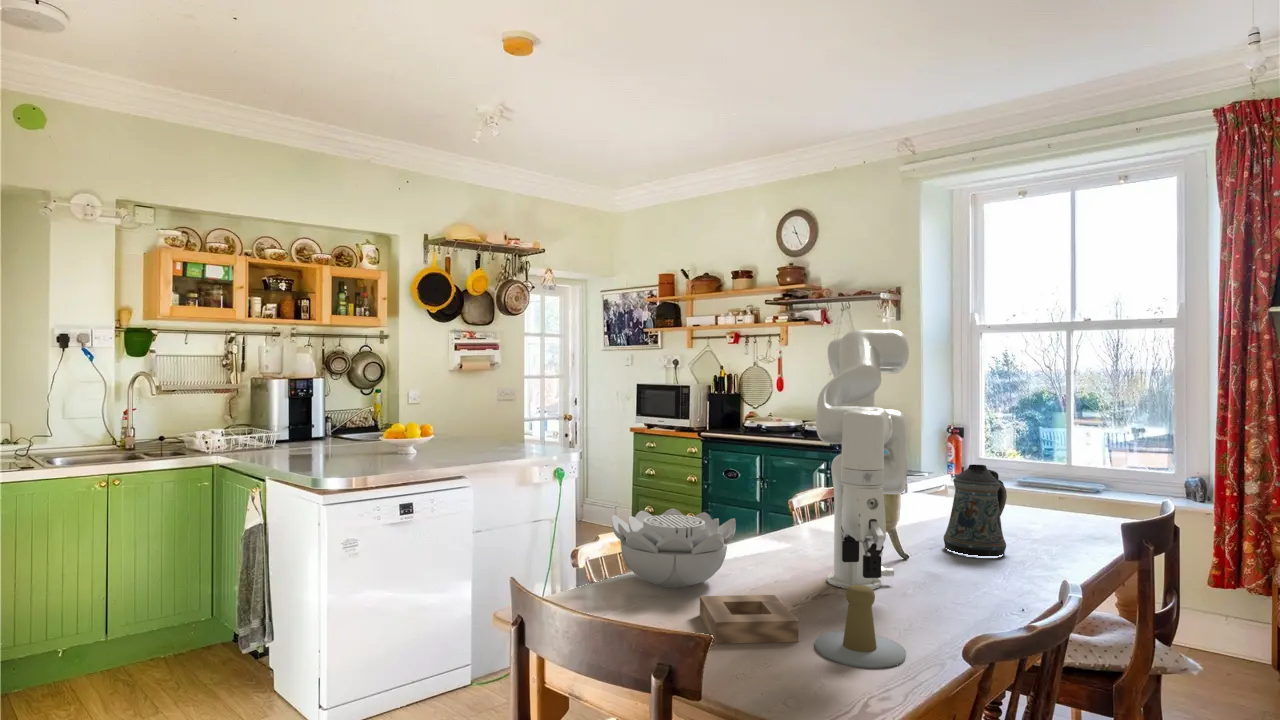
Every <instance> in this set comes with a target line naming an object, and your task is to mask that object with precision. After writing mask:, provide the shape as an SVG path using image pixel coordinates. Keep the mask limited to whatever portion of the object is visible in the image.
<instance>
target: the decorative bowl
mask: <svg viewBox="0 0 1280 720" xmlns="http://www.w3.org/2000/svg"><path fill="white" fill-rule="evenodd" d="M611 517H612V518H611V519H612V520H611V525H612V528H611V529H612V531H613V534H614V535H615V537H616V538H617V539H618V540H620V550H621V554H622V558H623V560H624V562H625V564H626V566H627V567H628V569H629V570H631V572H632V573H634V574H635V575H636V576H637V578H640V579H641V580H643V581H645V582H648V583H651V584H653V585H656V586H660V587H666V588H684V587H685V588H686V587H690V586H694V585H699V584H701V583H704V582H706V581H708V580H709V579H711V578H712V577H713V576H714V575H715V574H716V573H717V572H718V571H719V570H720V569H721V567H722V565H723V563H724V561H725V558H726V554H727V552H728V551H727V550H728V544H729V542H731V540H733V538H734V537H735V534H736V528H737V527H736V526H737V523H736V518H730V519H728V520H727V521H724V522H723V523H722V524H721V525H720V520H719V519H720V518H713V519H712V517H711V515H710V514H709V513H707V512H705V511H703V512H700V513H698V514H696V515H695V516H692V515H691V516H689V515H684V514H683V513H682V512H681V511H680V510H678V509H676V508H670V509H666V511H664V512H663V513H662V514H661V515H660V514H659V515H652V514H650V513H649V512H648V511H645V510H640V511H639V512H637V513H636V515H635V516H631V515H630V516H628V523H626V522H625V521H624V520H623V519H622V518H620V517H619V516H618V515H615V514H614V515H612V516H611Z"/></svg>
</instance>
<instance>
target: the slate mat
mask: <svg viewBox="0 0 1280 720" xmlns="http://www.w3.org/2000/svg"><path fill="white" fill-rule="evenodd" d="M844 632H845V630H837V631H829V632H826V633H823V634H821V635H819V636H818V637H817V638H816V639H815V643H814V644H815V646H814V647H815V650H816V652H817V653H818V654H819V655H821V656H823V657H824V658H826V659H828V660H830V661H832V662H836V663H839V664H842V665H846V666H850V667H854V668H855V667H856V668H864V669H882V668H881V667H888V668H890V667H889V666H893V667H895V666H894V665H897V664H899V663H901V662H903V661H904V659H905V658H906V659H907V651H906V649H905V648H904V646H903V645H901V643H898V641H895V640H893V639H891V638H888V637H885V636H882V635H879V634H875V638H876V646H877V649H876V650H875V651H872V652H857V651H852V650H849V649H847V648H845V647H844V646H843V639H844ZM906 659H905V660H906ZM904 662H905V661H904ZM904 662H903V663H904ZM901 664H902V663H901ZM899 665H900V664H899ZM897 666H898V665H897Z"/></svg>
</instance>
